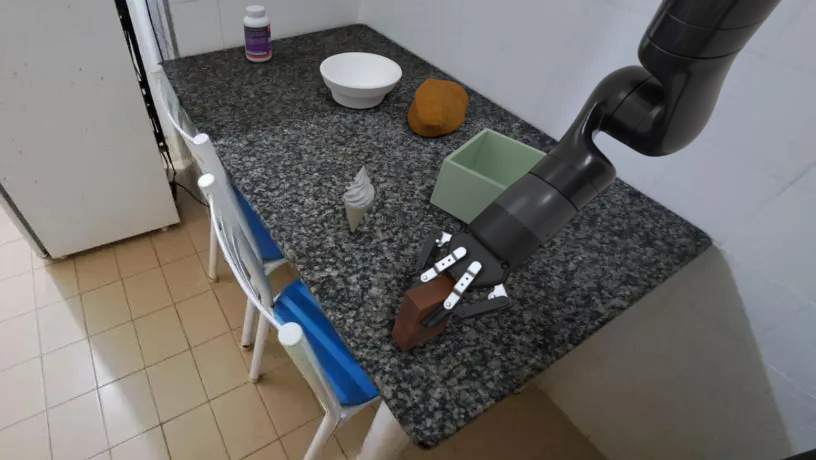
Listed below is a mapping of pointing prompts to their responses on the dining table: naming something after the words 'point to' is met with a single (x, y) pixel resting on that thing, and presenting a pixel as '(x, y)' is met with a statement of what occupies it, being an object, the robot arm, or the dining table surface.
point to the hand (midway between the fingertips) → (415, 313)
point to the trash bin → (481, 173)
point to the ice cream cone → (358, 198)
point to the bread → (437, 108)
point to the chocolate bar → (421, 311)
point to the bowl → (360, 78)
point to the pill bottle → (257, 34)
